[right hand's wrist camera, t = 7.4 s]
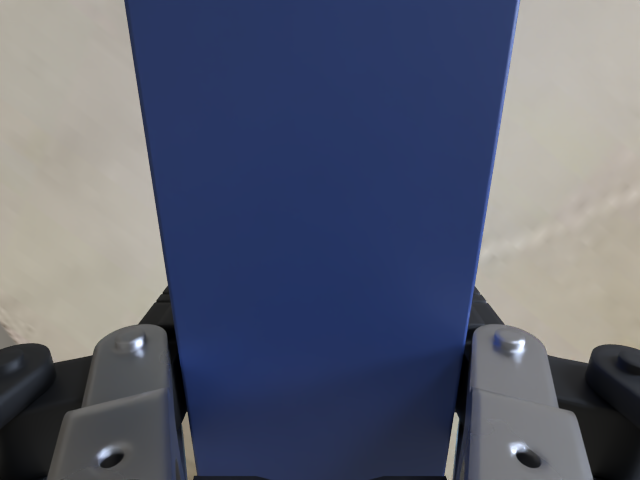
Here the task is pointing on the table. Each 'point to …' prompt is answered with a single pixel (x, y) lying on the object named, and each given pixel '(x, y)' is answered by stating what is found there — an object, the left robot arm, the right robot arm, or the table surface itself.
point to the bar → (321, 220)
